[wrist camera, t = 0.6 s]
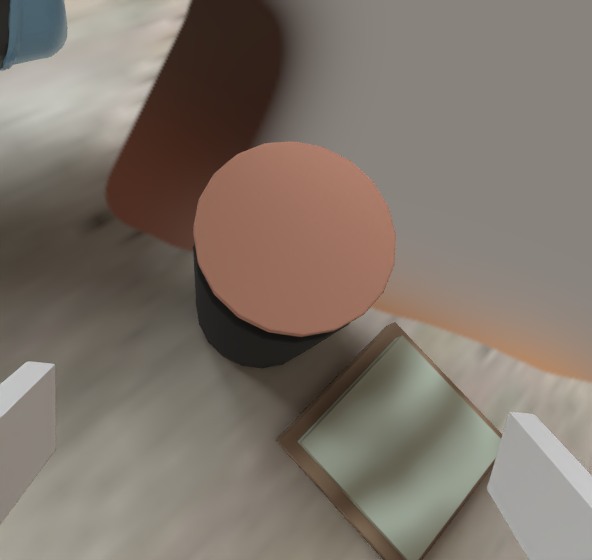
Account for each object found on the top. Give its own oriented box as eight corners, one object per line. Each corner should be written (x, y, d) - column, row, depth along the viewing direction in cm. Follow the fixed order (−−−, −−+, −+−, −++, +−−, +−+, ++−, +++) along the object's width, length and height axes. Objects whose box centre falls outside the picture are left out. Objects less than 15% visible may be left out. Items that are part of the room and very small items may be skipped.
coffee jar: (294, 236, 44) (353, 122, 27) (335, 345, 41) (428, 297, 24) (180, 268, 41) (165, 164, 24) (219, 387, 39) (232, 366, 22)
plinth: (275, 440, 38) (282, 442, 35) (386, 326, 43) (401, 318, 40) (395, 572, 37) (414, 588, 34) (496, 441, 42) (521, 444, 39)
